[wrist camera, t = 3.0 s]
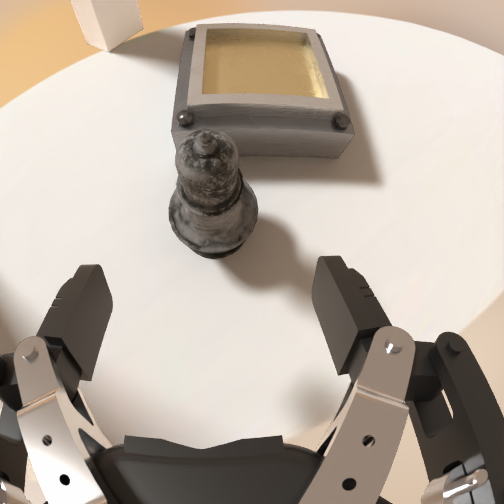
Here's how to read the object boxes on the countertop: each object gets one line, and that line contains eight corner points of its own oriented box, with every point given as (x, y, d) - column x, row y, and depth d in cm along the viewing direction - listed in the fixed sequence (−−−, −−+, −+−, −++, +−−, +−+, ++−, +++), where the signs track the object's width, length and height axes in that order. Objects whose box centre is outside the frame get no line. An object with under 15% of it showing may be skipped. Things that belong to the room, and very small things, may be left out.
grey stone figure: (186, 270, 21) (137, 223, 9) (171, 199, 22) (126, 100, 10) (262, 251, 22) (302, 184, 10) (242, 182, 22) (257, 73, 11)
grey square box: (178, 158, 22) (167, 119, 17) (188, 57, 25) (185, 19, 20) (337, 158, 24) (362, 124, 18) (311, 60, 26) (323, 25, 21)
